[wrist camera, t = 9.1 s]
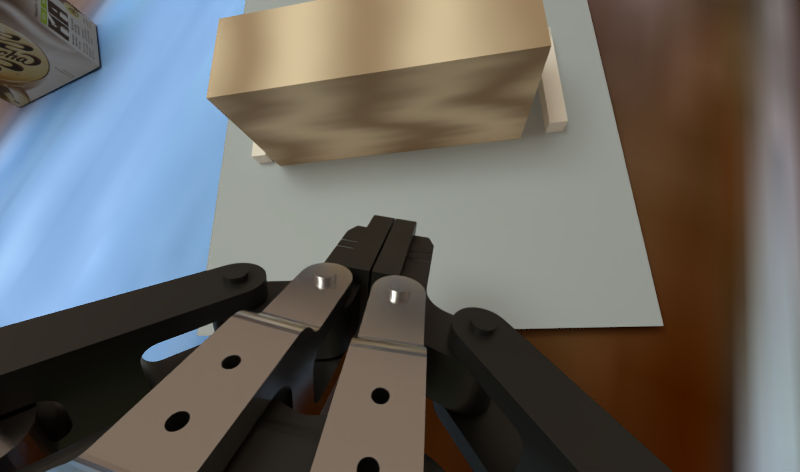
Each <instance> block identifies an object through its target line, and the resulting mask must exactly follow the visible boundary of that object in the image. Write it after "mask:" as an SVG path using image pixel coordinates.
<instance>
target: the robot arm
mask: <svg viewBox="0 0 800 472" xmlns="http://www.w3.org/2000/svg"><path fill="white" fill-rule="evenodd" d="M416 226H417V222H415V221H409V220H403V219H397V218H396V220H395V218H391V217H385V216H379V215H374V216H373V218H372V219H371V221H370V223H369V224H368V226H367V227H363V226H356V227H354V228H352V229H350V230H348V231H347V232H346V233H345V235H344V236H343V237H342V240H340V241H339V243H338V245H337V246H336V247H335V248H334V250H333V251H332V252H331V254H330V255H329V257H328V258H327V259H326V261H325V262H324V263H318V264H314V265H311V266H308V267H306V268H305V269H303V270H302V271H301V272H300V273H299V274H298V275H297V276H296V277H295V278H294V279H293V280H292V281H267V277H266V272H265V270H264V269H263V268H262V267H260V266H258V265H256V264H252V263H234V264H229V265H225V266H221V267H218V268H214V269H210V270H207V271H203V272H200V273H196V274H192V275H189V276H185V277H182V278H178V279H174V280H171V281H167V282H163V283H160V284H156V285H153V286H149V287H145V288H142V289H138V290H134V291H131V292H127V293H124V294H120V295H116V296H113V297H109V298H106V299H102V300H98V301H95V302H91V303H87V304H84V305H80V306H77V307H73V308H69V309H66V310H62V311H58V312H55V313H51V314H48V315H44V316H40V317H37V318H33V319H29V320H26V321H22V322H19V323H15V324H11V325H8V326H4V327H1V328H0V472H445V471H444V470H443V469H442V467H440V466H439V465H438V464H437V463H436V462H435V461H434V460H433V459H432V458H431V457H429V456H428V455H426V454H425V453H424V433H425V399H426V397H428V398H429V399H431V400H433V404H434V409H435V412H436V414H437V415H438V417H439V419H440V420H441V422H442V423H443V425H444V426H445V428H446V429H447V431H448V432H449V434H450V436H451V437H452V439H453V440H454V442H455V443H456V445H457V446H458V448H459V450H460V451H461V453H462V454H463V456H464V457H465V459H466V460H467V462H468V463H469V465H470V467H471V468H472V470H473V471H474V472H672V471H671V470H670V469H669V468H668V467H667V466H666V465H665V464H664V463H663V462H661V461H660V460H659V459H658V458H657V457H656V456H655V455H654V454H653V453H651V452H650V451H649V450H648V449H647V448H646V447H645V446H644V445H643V444H641V443H640V442H639V441H638V440H637V439H636V438H635V437H634V436H633V435H631V434H630V433H629V432H628V431H627V430H626V429H625V428H624V427H623V426H622V425H620V424H619V423H618V422H617V421H616V420H615V419H614V418H613V417H612V416H610V415H609V414H608V413H607V412H606V411H605V410H604V409H603V408H602V407H600V406H599V405H598V404H597V403H596V402H595V401H594V400H593V399H592V398H591V397H589V396H588V395H587V394H586V393H585V392H584V391H583V390H582V389H581V388H579V387H578V386H577V385H576V384H575V383H574V382H573V381H572V380H571V379H569V378H568V377H567V376H566V375H565V374H564V373H563V372H562V371H561V370H559V369H558V368H557V367H556V366H555V365H554V364H553V363H552V362H551V361H550V360H548V359H547V358H546V357H545V356H544V355H543V354H542V353H541V352H540V351H538V350H537V349H536V348H535V347H534V346H533V345H532V344H531V343H530V342H528V341H527V340H526V339H525V338H524V337H523V336H522V335H521V334H520V333H518V332H517V331H516V330H515V329H514V328H513V327H512V326H511V325H510V324H509V323H507V322H506V321H505V320H504V319H503V318H502V317H500V316H499V315H497V314H496V313H494V312H492V311H489V310H486V309H483V308H477V307H468V308H463V309H460V310H459V311H457V312H456V313H455V314H454V315H452V314H450V313H448V312H446V311H444V310H442V309H440V308H438V307H437V306H436V305H435V304H433V303H432V301H431V300H430V299H429V297H428V295H427V284H428V278H429V272H430V266H431V260H432V254H433V248H434V245H433V244H432V242H431V240H430V239H429V238H428V237H422V236H416V235H415V233H416ZM211 323H213V328H214V333H213V334H212V335H211V336H210V337H209V338H208V339H206V340H205V341H204V342H203V343H202V344H201V345H198V346H196V347H193V348H191V349H188V350H186V351H183V352H181V353H178V354H176V355H173V356H171V357H168V358H166V359H163V360H160V361H157V362H149V361H146V360H144V359H143V358H142V355H143V353H144V352H145V351H146V350H147V349H148V348H150V347H151V346H153V345H155V344H157V343H160V342H162V341H165V340H168V339H171V338H173V337H176V336H179V335H181V334H184V333H187V332H189V331H192V330H195V329H197V328H200V327H203V326H206V325H208V324H211ZM354 336H357V337H354ZM340 373H341V374H340ZM339 375H340V377H339ZM338 377H339V381H338V384H337V387H336V390H335V393H334V397H333V400H332V403H331V406H330V410H329V413H328V415H320V412H321V410H322V408H323V406H324V404H325V403H326V401H327V399H328V397H329V395H330V393H331V391H332V389H333V387H334V385H335V383H336V381H337V379H338Z"/></svg>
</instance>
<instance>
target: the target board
mask: <svg viewBox="0 0 800 472" xmlns="http://www.w3.org/2000/svg"><path fill="white" fill-rule="evenodd" d="M310 1H316V0H246V1H245V8H244V14H248V13H253V12H258V11H263V10H269V9H274V8H279V7H284V6H289V5H295V4H300V3H305V2H310ZM543 5H544V10H545V15H546V20H547V25H548V30H549V36H550V41H551V48H550V51H549V54H548V57H547V60H546V63H545V66H544V70H543V73H542V76H541V79H540V82H539V85H538V88H537V91H536V94H535V97H534V100H533V103H532V106H531V109H530V112H529V115H528V118H527V121H526V124H525V127H524V130H523V133H522V136H521V138H520V139H512V140H503V141H494V142H485V143H476V144H468V145H459V146H450V147H441V148H433V149H424V150H415V151H406V152H397V153H389V154H380V155H371V156H362V157H353V158H345V159H336V160H327V161H318V162H309V163H301V164H292V165H283V166H279V165H278V164H277V163H276V162H275V161H274V160H273V159H272V158H271V157H270V156H269V155H267V154H266V153H265V152H264V151H263V150H262V149H261V148H260V147H259V146H258V145H257V144H256V143H254V142H253V141H252V140H251V139H250V138H249V137H248V136H247V135H246V134H245V133H244V132H243V131H241V130H240V129H239V128H238V127H237V126H236V125H235V124H234V123H233V122H232V121H231V120H230V119H229V118H228V125H227V132H226V139H225V146H224V153H223V160H222V167H221V173H220V180H219V187H218V194H217V201H216V208H215V215H214V222H213V228H212V235H211V242H210V249H209V256H208V263H207V270H210V269H214V268H218V267H221V266H225V265H229V264H234V263H252V264H256V265H258V266H260V267H262V268H263V269H264V270H265V272H266V277H267V281H292V280H293V279H294V278H295V277H296V276H297V275H298V274H299V273H300V272H301V271H302V270H303V269H305V268H306V267H308V266H311V265H314V264H318V263H324V262H325V261H326V259H327V258H328V257H329V255H330V254H331V252H332V251H333V250H334V248H335V247H336V246H337V245H338V243H339V241H340V240H342V237H343V236H344V235H345V233H346V232H347V231H348V230H350V229H352V228H354V227H356V226H363V227H367V226H368V224H369V223H370V221H371V219H372V218H373V216H374V215H379V216H385V217H391V218H395V220H396V218H397V219H403V220H409V221H415V222H417V226H416V233H415V235H416V236H422V237H428V238H429V239H430V240H431V242H432V244H433V245H434V248H433V254H432V260H431V266H430V272H429V278H428V284H427V295H428V297H429V299H430V300H431V301H432V303H433V304H435V305H436V306H437V307H438V308H440V309H442V310H444V311H446V312H448V313H450V314H452V315H454V314H455V313H456V312H457V311H459V310H460V309H463V308H468V307H477V308H483V309H486V310H489V311H492V312H494V313H496V314H497V315H499V316H500V317H502V318H503V319H504V320H505V321H506V322H507V323H509V324H510V325H511V326H512V327H513V328H514V329H540V328H587V327H635V326H663V321H662V317H661V313H660V309H659V304H658V300H657V296H656V292H655V287H654V283H653V279H652V275H651V270H650V266H649V262H648V258H647V253H646V249H645V245H644V241H643V236H642V232H641V228H640V224H639V219H638V215H637V211H636V207H635V202H634V198H633V194H632V190H631V185H630V181H629V177H628V173H627V168H626V164H625V160H624V156H623V151H622V147H621V143H620V139H619V134H618V130H617V126H616V122H615V117H614V113H613V109H612V105H611V100H610V96H609V92H608V88H607V83H606V79H605V75H604V71H603V66H602V62H601V58H600V54H599V49H598V45H597V41H596V37H595V32H594V28H593V24H592V20H591V15H590V11H589V7H588V3H587V0H543ZM207 270H206V271H207ZM213 333H214V328H213V323H211V324H208V325H206V326H203V327H200V328H198V332H197V336H209V335H212V334H213Z"/></svg>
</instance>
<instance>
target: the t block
mask: <svg viewBox="0 0 800 472" xmlns="http://www.w3.org/2000/svg"><path fill="white" fill-rule="evenodd" d="M550 48H551V41H550V36H549V30H548V25H547V20H546V15H545V10H544V5H543V0H316V1H310V2H305V3H300V4H295V5H289V6H284V7H279V8H274V9H269V10H263V11H258V12H253V13H248V14H243V15H237V16H232V17H227V18H222V19H219V24H218V30H217V36H216V42H215V48H214V55H213V61H212V67H211V73H210V79H209V86H208V92H207V99H208V100H209V101H210V102H211V103H212V104H213V105H214V106H216V107H217V108H218V109H219V110H220V111H221V112H222V113H223V114H224V115H225V116H226V117H227V118H229V119H230V120H231V121H232V122H233V123H234V124H235V125H236V126H237V127H238V128H239V129H240V130H241V131H243V132H244V133H245V134H246V135H247V136H248V137H249V138H250V139H251V140H252V141H253V142H254V143H256V144H257V145H258V146H259V147H260V148H261V149H262V150H263V151H264V152H265V153H266V154H267V155H269V156H270V157H271V158H272V159H273V160H274V161H275V162H276V163H277V164H278V165H279V166H283V165H292V164H301V163H309V162H318V161H327V160H336V159H345V158H353V157H362V156H371V155H380V154H389V153H397V152H406V151H415V150H424V149H433V148H441V147H450V146H459V145H468V144H476V143H485V142H494V141H503V140H512V139H520V138H521V136H522V133H523V130H524V127H525V124H526V121H527V118H528V115H529V112H530V109H531V106H532V103H533V100H534V97H535V94H536V91H537V88H538V85H539V82H540V79H541V76H542V73H543V70H544V66H545V63H546V60H547V57H548V54H549V51H550Z"/></svg>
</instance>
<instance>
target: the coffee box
mask: <svg viewBox="0 0 800 472" xmlns="http://www.w3.org/2000/svg"><path fill="white" fill-rule="evenodd" d="M99 66H100V63H99V54H98V43H97V33H96V25H95V24H94V23H93V22H92V21H91V20H90V19H88V18H87V17H86V16H85V15H83V14H82V13H81V12H80V11H79V10H77V9H76V8H75V7H74V6H73V5H71V4H70V3H69V2H68V1H66V0H0V98H1V99H3V100H5V101H7V102H9V103H11V104H13V105H15V106H16V107H22V106H24V105H25V104H27V103H29V102H31V101H33V100H35V99H37V98H39V97H41V96H43V95H45V94H47V93H49V92H51V91H53V90H55V89H57V88H59V87H61V86H63V85H65V84H67V83H69V82H71V81H73V80H75V79H77V78H79V77H81V76H82V75H84V74H86V73H88V72H90V71H92V70H94V69H96V68H98V67H99Z"/></svg>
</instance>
